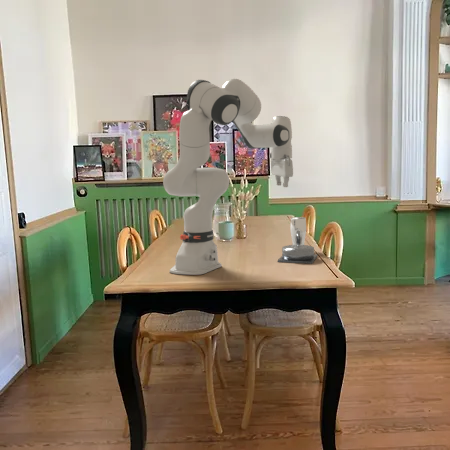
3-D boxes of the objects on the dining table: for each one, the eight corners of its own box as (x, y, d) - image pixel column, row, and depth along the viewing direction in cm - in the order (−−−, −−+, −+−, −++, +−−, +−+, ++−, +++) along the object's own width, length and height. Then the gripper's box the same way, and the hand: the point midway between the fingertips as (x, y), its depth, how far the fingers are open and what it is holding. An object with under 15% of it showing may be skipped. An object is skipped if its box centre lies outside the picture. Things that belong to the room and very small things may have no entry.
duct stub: (312, 263, 193) (312, 251, 192) (277, 261, 198) (277, 250, 197) (317, 256, 206) (317, 245, 205) (285, 254, 211) (285, 244, 210)
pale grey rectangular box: (308, 250, 218) (308, 217, 216) (302, 253, 213) (301, 219, 211) (294, 249, 222) (294, 216, 220) (287, 251, 217) (287, 218, 214)
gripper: (296, 154, 202) (296, 187, 205) (281, 153, 222) (282, 184, 224) (282, 155, 201) (282, 188, 203) (268, 154, 221) (268, 184, 223)
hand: (282, 186), depth 214 cm, fingers open, 8 cm apart
